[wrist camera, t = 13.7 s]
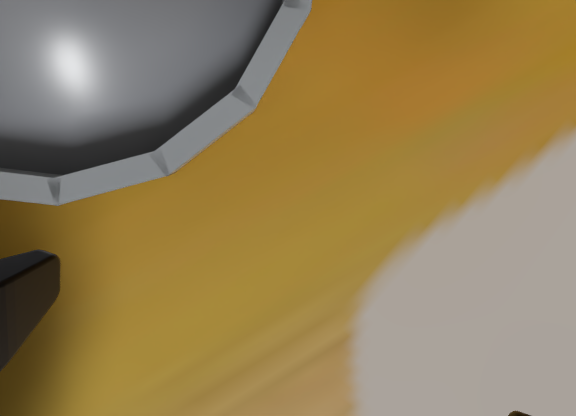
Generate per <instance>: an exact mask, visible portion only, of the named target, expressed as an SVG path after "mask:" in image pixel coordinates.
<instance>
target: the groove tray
mask: <svg viewBox="0 0 576 416" xmlns="http://www.w3.org/2000/svg"><path fill="white" fill-rule="evenodd" d="M311 4H312V0H0V199H3V200H12V201H21V202H30V203H39V204H48V205H55V206H59V205H62V204H65V203H68V202H72V201H76V200H79V199H83V198H87V197H90V196H94V195H98V194H101V193H105V192H109V191H113V190H116V189H120V188H124V187H127V186H131V185H135V184H138V183H142V182H146V181H149V180H153V179H157V178H161V177H164V176H169V175H171V174H174V173H175V172H176V171H178V170H179V169H180V168H182V167H183V166H184V165H185V164H187V163H188V162H189V161H191V160H192V159H193V158H194V157H196V156H197V155H198V154H200V153H201V152H202V151H203V150H205V149H206V148H207V147H209V146H210V145H211V144H212V143H214V142H215V141H216V140H218V139H219V138H220V137H222V136H223V135H224V134H225V133H227V132H228V131H229V130H231V129H232V128H233V127H234V126H236V125H237V124H238V123H240V122H241V121H242V120H243V119H245V118H246V117H247V116H249V115H250V114H251V113H253V112H254V110H255V109H256V107H257V104H258V102H259V101H260V99H261V97H262V95H263V93H264V92H265V90H266V88H267V86H268V85H269V83H270V81H271V79H272V78H273V76H274V74H275V72H276V70H277V69H278V67H279V65H280V63H281V62H282V60H283V58H284V56H285V54H286V53H287V51H288V49H289V47H290V46H291V44H292V42H293V40H294V38H295V37H296V35H297V33H298V31H299V30H300V28H301V27H302V25H303V23H304V22H305V20H306V18H307V17H308V15H309V13H310V11H311Z"/></svg>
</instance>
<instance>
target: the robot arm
mask: <svg viewBox="0 0 576 416" xmlns="http://www.w3.org/2000/svg"><path fill="white" fill-rule="evenodd" d="M59 291H60V259H59V257H58V256H57V255H55V254H52V253H49V252H46V251H43V250H34V251H30V252H26V253H22V254H18V255H15V256H11V257H7V258H3V259H0V371H1V370H2V369H3V368H4V367H5V366H6V365H7V363H8V362H9V361H10V360H11V359H12V357H13V356H14V355H15V354H16V352H17V351H18V350H19V348H20V347H21V346H22V344H23V343H24V342H25V340H26V339H27V338H28V336H29V335H30V334H31V332H32V331H33V330H34V328H35V327H36V326H37V324H38V323H39V322H40V320H41V319H42V318H43V316H44V315H45V314H46V312H47V311H48V310H49V308H50V307H51V306H52V304H53V303H54V302H55V300H56V298H57V297H58V294H59ZM508 416H530V415H528V414H525V413H522V412H519V411H513V412H511V413H510V414H509V415H508Z"/></svg>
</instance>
